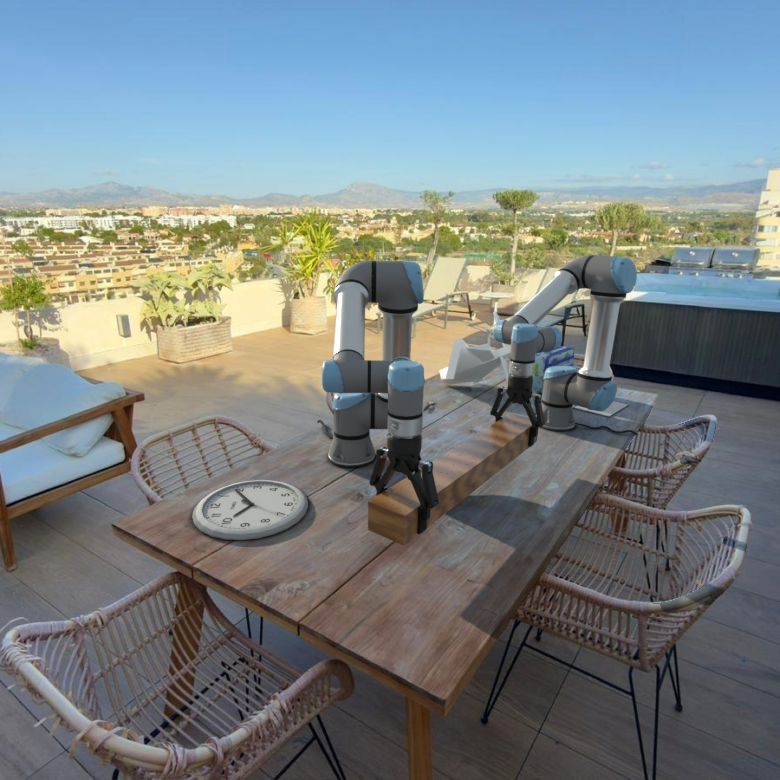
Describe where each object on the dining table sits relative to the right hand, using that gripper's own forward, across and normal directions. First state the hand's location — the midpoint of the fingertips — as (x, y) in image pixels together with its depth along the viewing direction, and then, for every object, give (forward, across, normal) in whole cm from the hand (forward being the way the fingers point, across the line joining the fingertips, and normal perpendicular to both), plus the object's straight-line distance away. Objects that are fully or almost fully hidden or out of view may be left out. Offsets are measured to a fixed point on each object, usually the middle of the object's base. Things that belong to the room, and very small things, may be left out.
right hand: (514, 441), depth 168 cm
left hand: (-1, +1, -62) cm, 62 cm away
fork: (+8, -53, +29) cm, 61 cm away
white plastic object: (+8, -46, +62) cm, 77 cm away
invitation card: (+8, +5, +78) cm, 79 cm away
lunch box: (+8, -22, +87) cm, 90 cm away
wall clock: (+8, -42, -72) cm, 83 cm away
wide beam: (0, +1, -31) cm, 31 cm away
